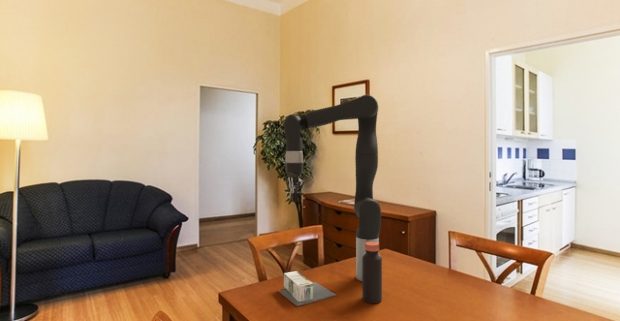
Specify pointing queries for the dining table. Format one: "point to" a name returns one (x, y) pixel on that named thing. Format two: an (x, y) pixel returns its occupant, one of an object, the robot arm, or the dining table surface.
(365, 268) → the bottle
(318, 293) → the slate mat
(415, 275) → the dining table surface
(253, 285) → the dining table surface
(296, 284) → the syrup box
